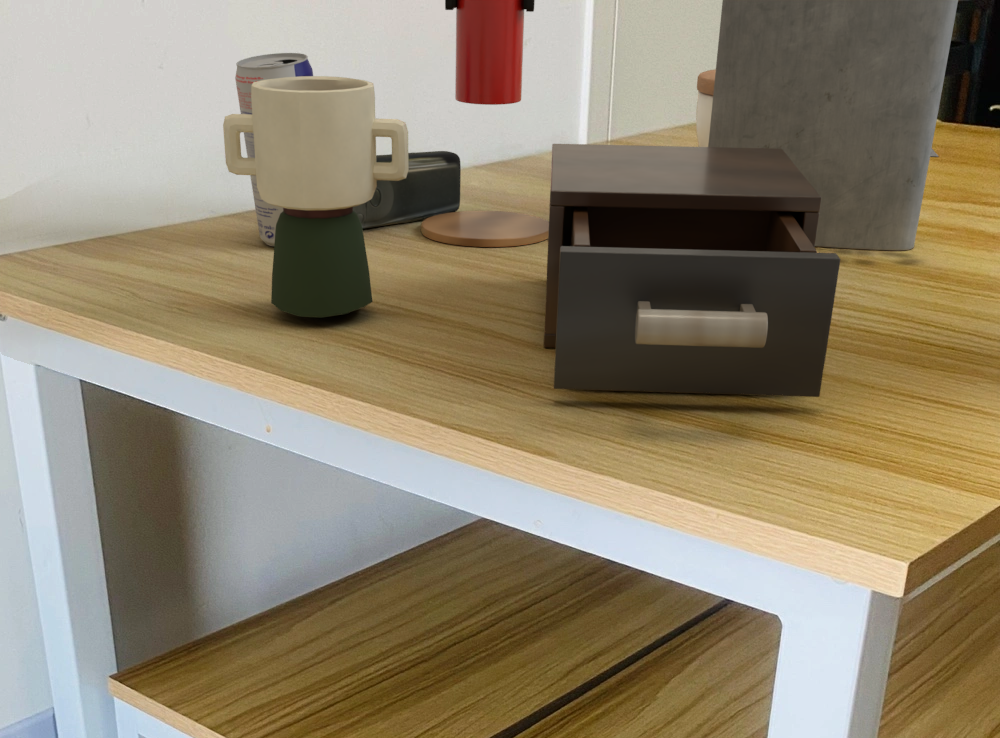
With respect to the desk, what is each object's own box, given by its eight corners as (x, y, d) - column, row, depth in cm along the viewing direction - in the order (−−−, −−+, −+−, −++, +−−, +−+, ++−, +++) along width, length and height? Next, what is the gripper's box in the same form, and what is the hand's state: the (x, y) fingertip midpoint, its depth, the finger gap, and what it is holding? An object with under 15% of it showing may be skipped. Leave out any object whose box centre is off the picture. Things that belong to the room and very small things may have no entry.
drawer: (833, 426, 65) (857, 281, 62) (553, 417, 66) (560, 273, 62) (780, 318, 81) (796, 198, 78) (555, 312, 82) (560, 193, 78)
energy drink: (347, 234, 101) (326, 55, 94) (291, 253, 98) (265, 70, 91) (302, 223, 104) (278, 50, 97) (246, 241, 101) (217, 64, 94)
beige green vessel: (419, 302, 87) (417, 78, 80) (399, 334, 81) (397, 94, 74) (251, 295, 88) (236, 73, 81) (220, 325, 82) (201, 88, 75)
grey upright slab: (914, 242, 103) (969, -64, 92) (912, 254, 100) (969, -62, 89) (703, 226, 107) (732, -69, 96) (694, 237, 104) (724, -67, 93)
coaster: (552, 219, 108) (553, 212, 108) (551, 249, 100) (552, 240, 100) (426, 216, 109) (426, 208, 109) (415, 245, 100) (415, 236, 100)
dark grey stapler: (443, 145, 110) (295, 161, 100) (469, 150, 108) (321, 167, 99) (441, 210, 112) (297, 232, 103) (467, 216, 110) (323, 239, 101)
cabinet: (799, 355, 78) (821, 197, 74) (543, 347, 79) (550, 190, 74) (765, 286, 91) (782, 148, 87) (546, 280, 92) (552, 143, 88)
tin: (523, 96, 102) (529, -84, 96) (521, 105, 97) (528, -82, 91) (456, 94, 102) (458, -85, 96) (451, 104, 98) (453, -83, 92)
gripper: (356, -322, 84) (363, 11, 94) (634, -319, 83) (612, 16, 93) (371, -308, 91) (376, 2, 100) (629, -305, 90) (609, 7, 99)
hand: (490, 6), depth 96 cm, fingers closed on tin, 4 cm apart
